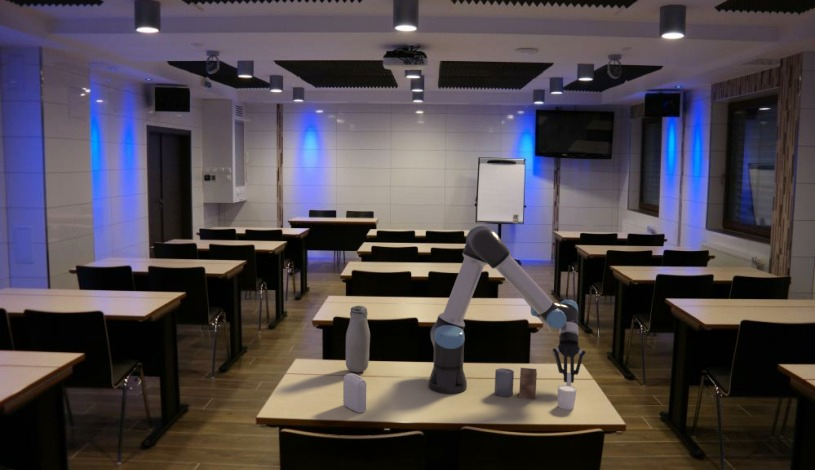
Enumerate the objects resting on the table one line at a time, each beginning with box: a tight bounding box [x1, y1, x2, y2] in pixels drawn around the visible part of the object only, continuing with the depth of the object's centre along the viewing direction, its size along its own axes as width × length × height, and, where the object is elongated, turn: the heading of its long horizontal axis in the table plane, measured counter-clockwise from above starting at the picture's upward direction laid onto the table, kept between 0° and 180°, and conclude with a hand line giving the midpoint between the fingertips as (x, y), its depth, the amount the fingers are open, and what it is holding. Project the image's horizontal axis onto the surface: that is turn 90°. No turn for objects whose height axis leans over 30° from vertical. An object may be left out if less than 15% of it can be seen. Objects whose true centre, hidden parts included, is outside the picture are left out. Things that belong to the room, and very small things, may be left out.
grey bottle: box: [345, 305, 371, 373], centre depth 267 cm, size 10×10×28 cm
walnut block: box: [518, 367, 538, 400], centre depth 245 cm, size 6×6×10 cm
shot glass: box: [557, 384, 578, 410], centre depth 235 cm, size 7×7×7 cm
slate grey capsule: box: [494, 367, 515, 398], centre depth 247 cm, size 7×7×9 cm
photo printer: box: [342, 372, 367, 414], centre depth 228 cm, size 10×4×12 cm, turn 39°
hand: (568, 389), depth 245 cm, fingers closed
